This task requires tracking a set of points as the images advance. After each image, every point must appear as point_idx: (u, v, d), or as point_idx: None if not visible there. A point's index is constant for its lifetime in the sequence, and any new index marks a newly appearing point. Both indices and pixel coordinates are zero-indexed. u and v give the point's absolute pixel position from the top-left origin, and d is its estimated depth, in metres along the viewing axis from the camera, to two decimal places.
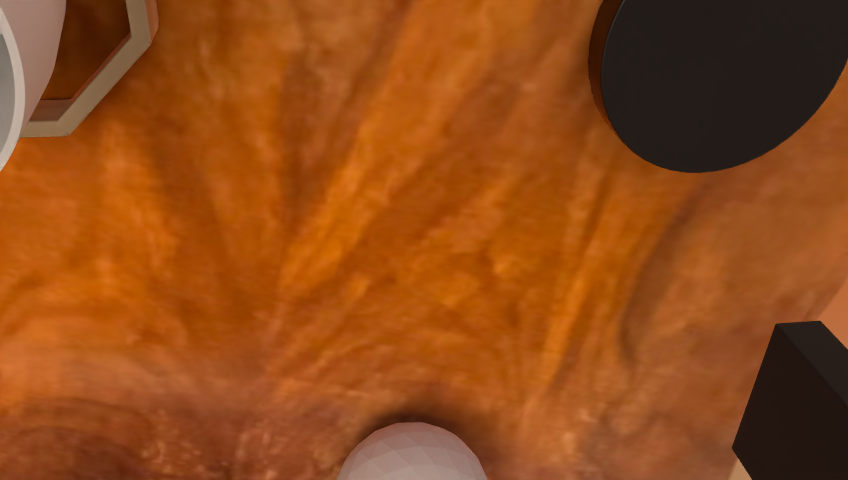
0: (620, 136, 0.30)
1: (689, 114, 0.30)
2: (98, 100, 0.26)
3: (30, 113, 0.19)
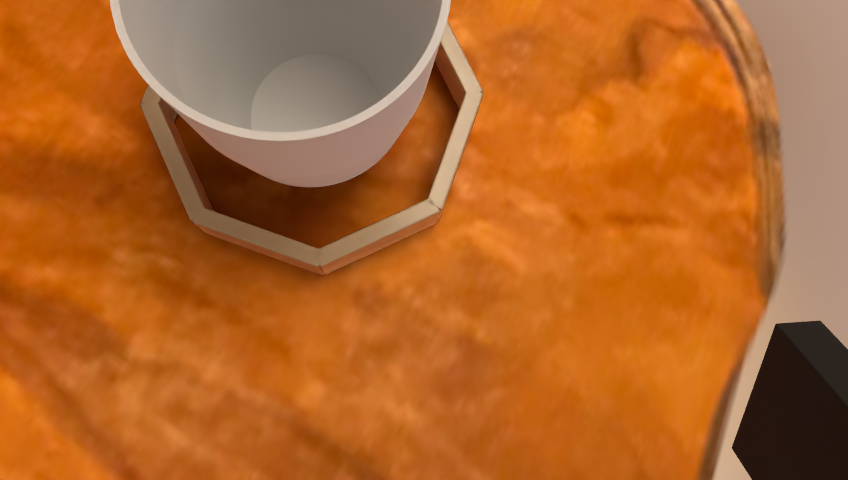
0: None
1: None
2: (160, 148, 0.26)
3: None
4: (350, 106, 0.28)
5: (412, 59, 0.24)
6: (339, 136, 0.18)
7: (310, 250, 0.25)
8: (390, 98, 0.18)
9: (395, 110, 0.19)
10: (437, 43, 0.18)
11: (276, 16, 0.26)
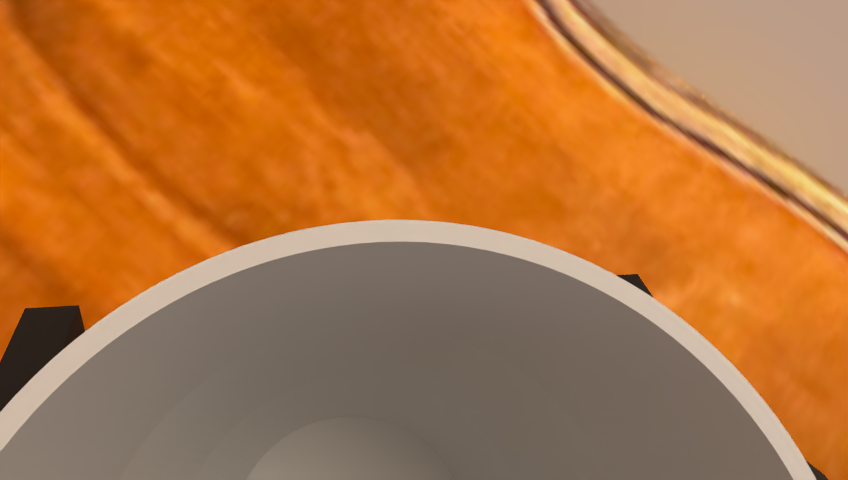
0: None
1: None
2: None
3: None
4: None
5: None
6: None
7: None
8: None
9: None
10: None
11: (308, 388, 0.14)
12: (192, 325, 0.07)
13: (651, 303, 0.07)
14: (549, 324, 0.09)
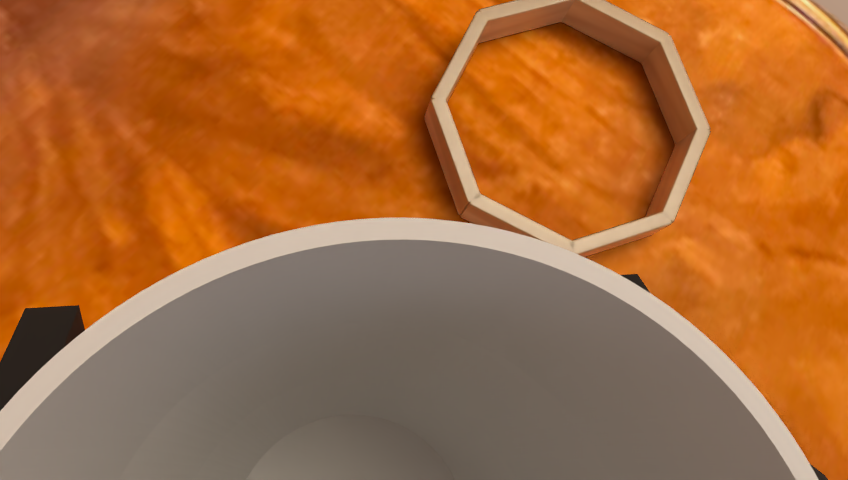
0: None
1: None
2: (446, 138, 0.30)
3: None
4: None
5: None
6: None
7: (566, 241, 0.30)
8: None
9: None
10: None
11: (308, 387, 0.14)
12: (193, 323, 0.07)
13: (652, 302, 0.07)
14: (550, 322, 0.09)
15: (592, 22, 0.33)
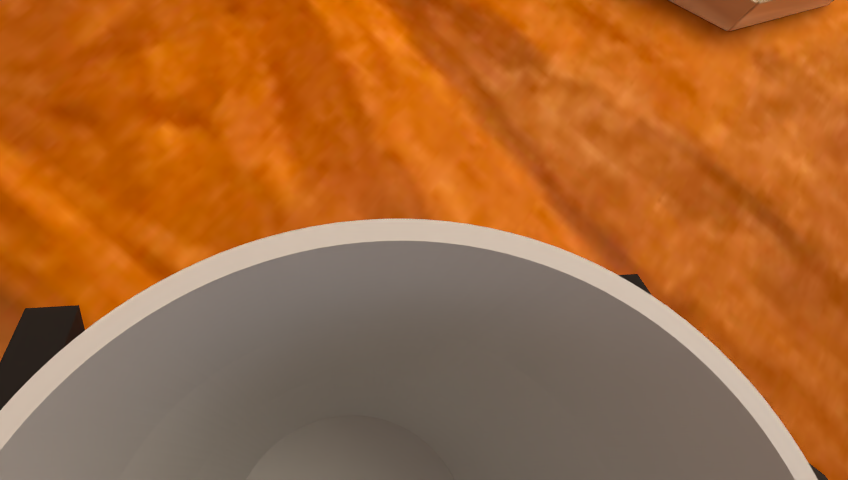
0: None
1: None
2: None
3: None
4: None
5: None
6: None
7: None
8: None
9: None
10: None
11: (308, 387, 0.14)
12: (192, 324, 0.07)
13: (651, 303, 0.07)
14: (549, 324, 0.09)
15: None
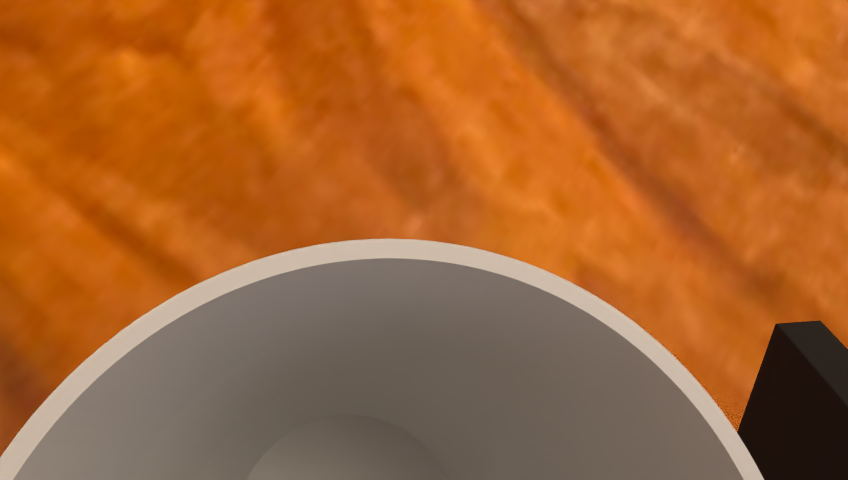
0: None
1: None
2: None
3: None
4: None
5: None
6: None
7: None
8: None
9: None
10: None
11: (307, 388, 0.15)
12: (203, 332, 0.08)
13: (612, 313, 0.08)
14: (526, 330, 0.09)
15: None
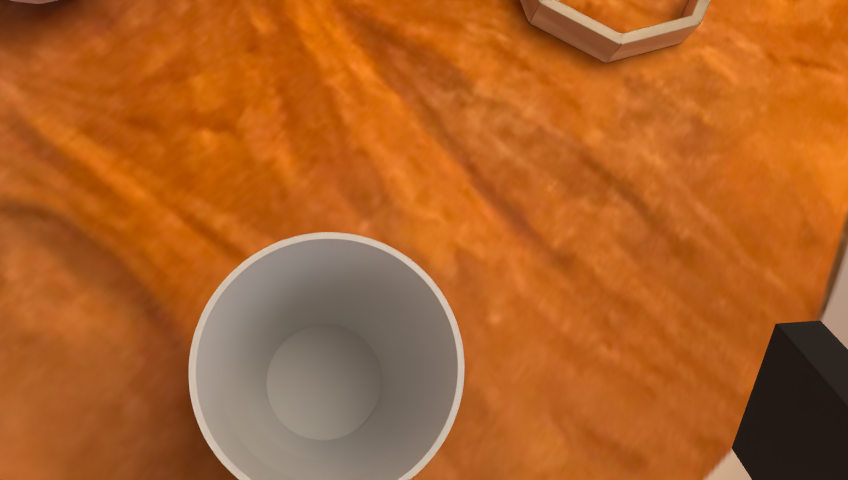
0: None
1: None
2: None
3: None
4: (354, 375, 0.33)
5: (416, 374, 0.29)
6: None
7: (615, 33, 0.38)
8: None
9: None
10: (446, 435, 0.23)
11: (304, 305, 0.31)
12: (267, 264, 0.24)
13: (405, 257, 0.24)
14: (384, 266, 0.25)
15: None
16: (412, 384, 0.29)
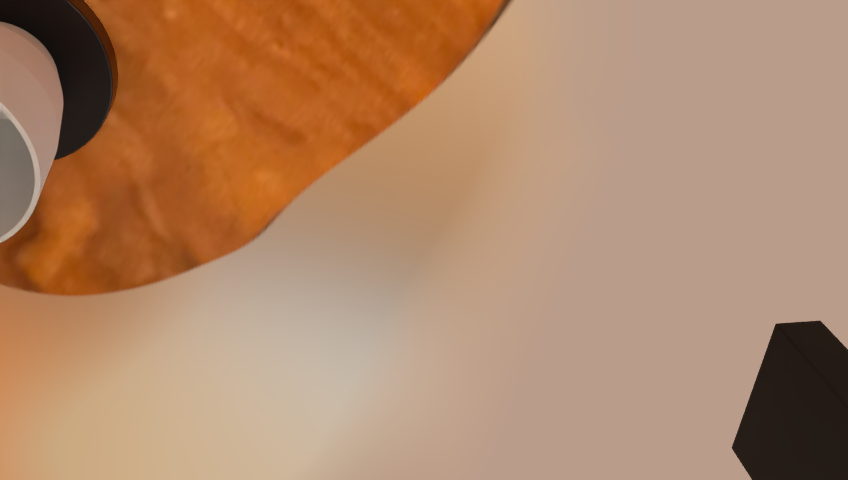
0: None
1: None
2: None
3: None
4: None
5: None
6: None
7: None
8: (1, 239, 0.31)
9: None
10: (31, 213, 0.31)
11: None
12: None
13: None
14: None
15: None
16: None
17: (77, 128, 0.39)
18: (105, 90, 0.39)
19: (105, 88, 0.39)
